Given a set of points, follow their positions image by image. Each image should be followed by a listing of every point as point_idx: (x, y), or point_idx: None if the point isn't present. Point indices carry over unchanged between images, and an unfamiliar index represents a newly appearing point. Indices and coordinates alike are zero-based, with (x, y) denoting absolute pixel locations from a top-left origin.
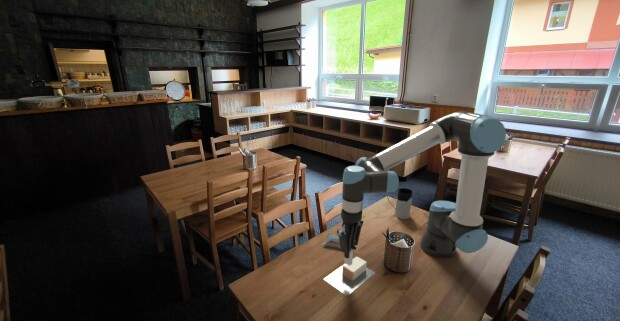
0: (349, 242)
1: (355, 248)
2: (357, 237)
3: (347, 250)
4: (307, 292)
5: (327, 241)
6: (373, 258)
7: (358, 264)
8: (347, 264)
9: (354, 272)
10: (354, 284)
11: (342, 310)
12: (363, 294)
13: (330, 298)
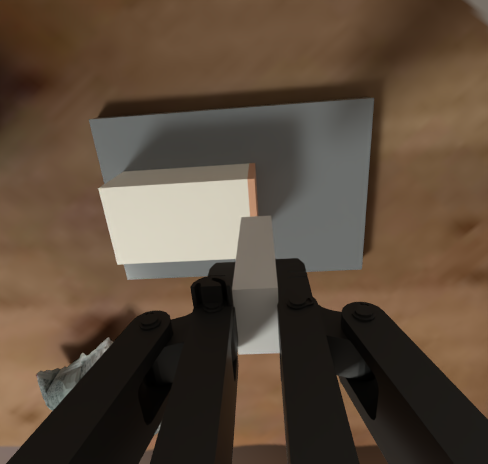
0: (334, 405)
1: (211, 284)
2: (109, 406)
3: (347, 313)
4: (467, 257)
5: (160, 425)
6: (10, 214)
7: (164, 207)
8: (224, 250)
9: (236, 177)
10: (266, 135)
11: (456, 52)
12: (270, 56)
13: (426, 159)
